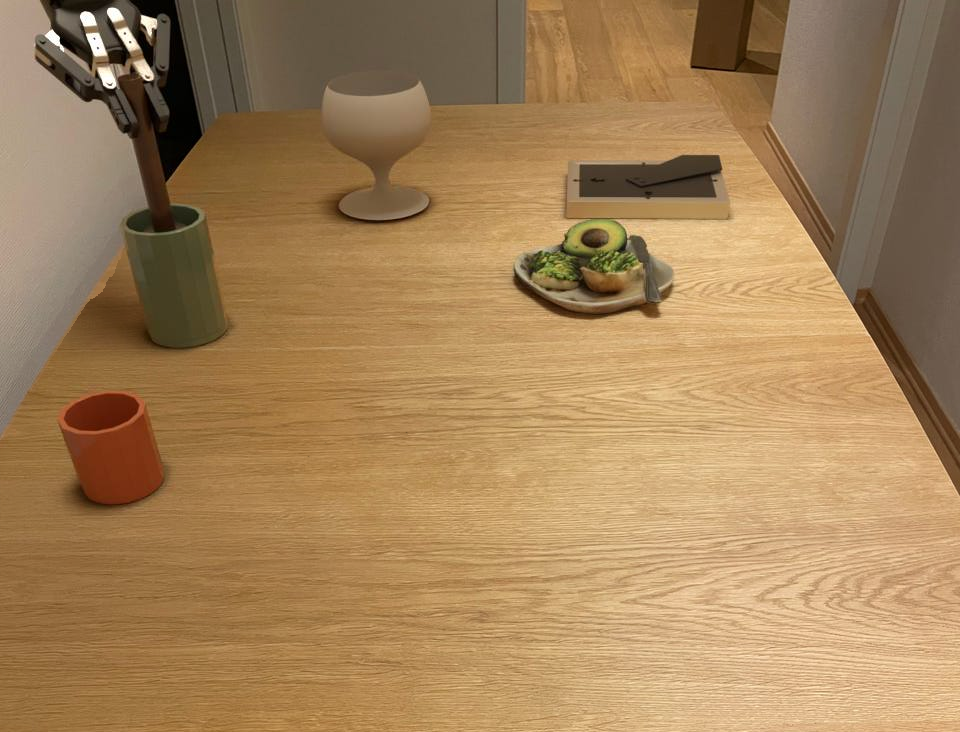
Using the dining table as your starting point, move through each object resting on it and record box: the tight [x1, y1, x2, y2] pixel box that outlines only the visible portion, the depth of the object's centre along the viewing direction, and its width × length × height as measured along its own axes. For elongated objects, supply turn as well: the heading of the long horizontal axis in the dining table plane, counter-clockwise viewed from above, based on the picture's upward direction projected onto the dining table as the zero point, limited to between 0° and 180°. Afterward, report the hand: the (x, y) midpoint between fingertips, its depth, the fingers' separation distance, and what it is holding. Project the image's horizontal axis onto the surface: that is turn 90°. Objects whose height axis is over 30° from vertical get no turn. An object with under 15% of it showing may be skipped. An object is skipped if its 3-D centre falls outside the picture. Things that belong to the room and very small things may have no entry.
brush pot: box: [57, 389, 165, 505], centre depth 87 cm, size 7×7×7 cm
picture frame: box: [565, 154, 731, 220], centre depth 135 cm, size 16×3×21 cm
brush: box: [116, 74, 187, 233], centre depth 100 cm, size 4×4×20 cm
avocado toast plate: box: [512, 218, 676, 315], centre depth 114 cm, size 19×18×5 cm
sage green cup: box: [119, 203, 229, 349], centre depth 106 cm, size 8×8×12 cm
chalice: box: [321, 69, 432, 221], centre depth 131 cm, size 14×14×15 cm
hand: (148, 129), depth 95 cm, fingers closed on brush, 2 cm apart
